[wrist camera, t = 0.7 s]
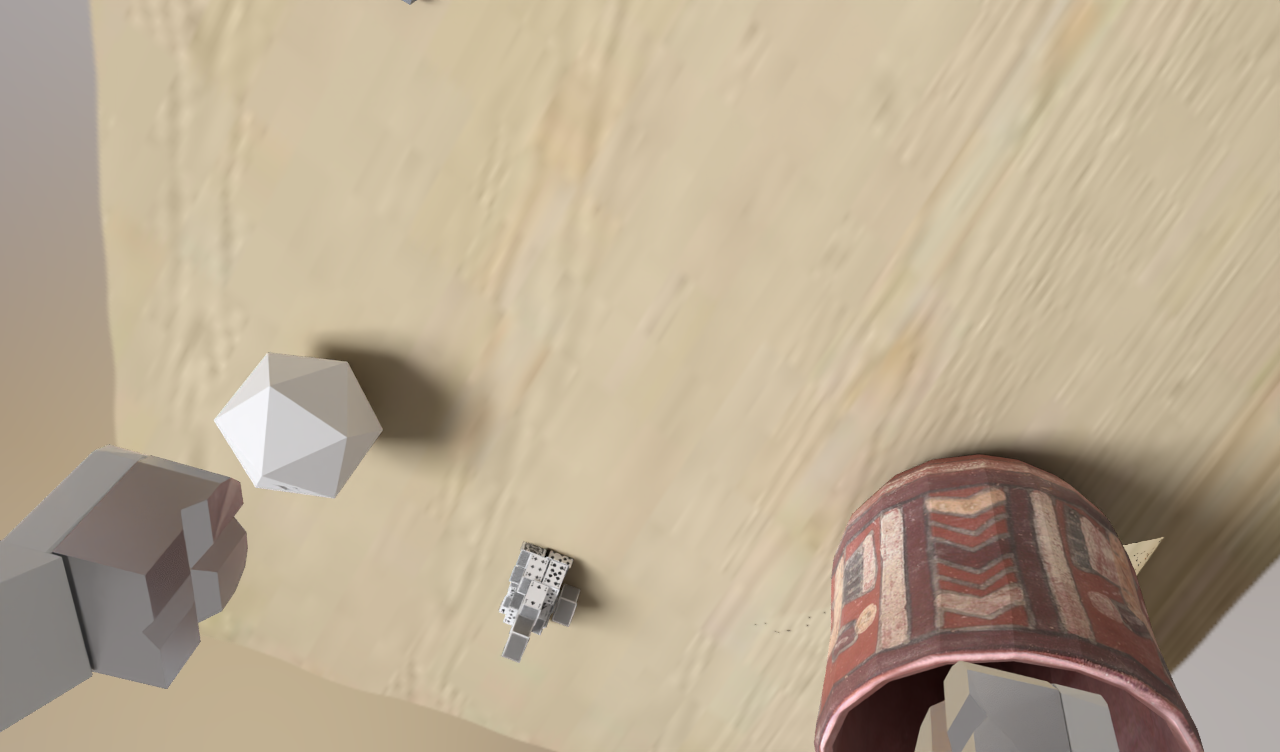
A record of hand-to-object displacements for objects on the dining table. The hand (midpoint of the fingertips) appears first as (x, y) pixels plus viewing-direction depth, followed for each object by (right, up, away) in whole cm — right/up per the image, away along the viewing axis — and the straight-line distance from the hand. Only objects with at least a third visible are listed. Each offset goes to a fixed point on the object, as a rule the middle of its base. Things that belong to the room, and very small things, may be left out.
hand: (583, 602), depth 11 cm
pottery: (+21, -7, +52) cm, 57 cm away
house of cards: (-5, -14, +63) cm, 65 cm away
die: (-19, +2, +55) cm, 58 cm away
